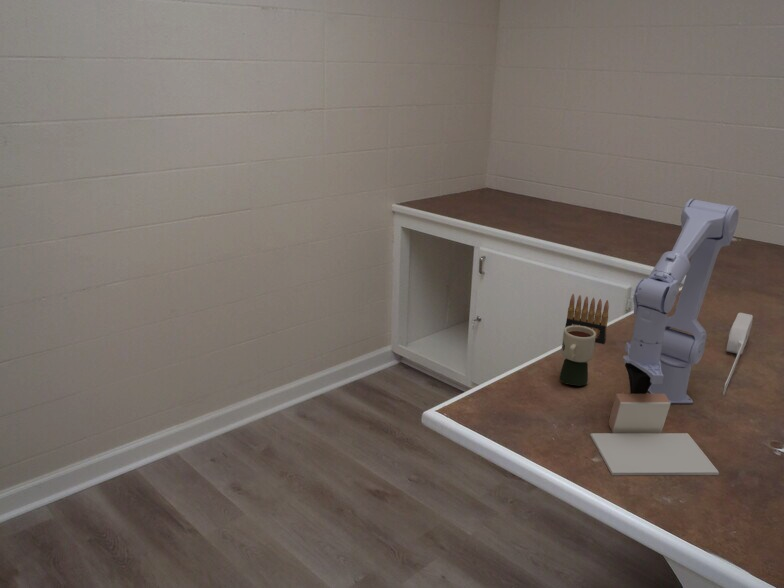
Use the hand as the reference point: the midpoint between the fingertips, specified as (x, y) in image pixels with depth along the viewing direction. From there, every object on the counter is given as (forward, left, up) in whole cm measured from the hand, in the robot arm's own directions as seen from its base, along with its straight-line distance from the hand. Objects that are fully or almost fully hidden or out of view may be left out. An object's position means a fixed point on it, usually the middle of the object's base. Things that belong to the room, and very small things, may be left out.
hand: (636, 398), depth 137 cm
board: (+10, 0, -6) cm, 12 cm away
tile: (+1, 0, -6) cm, 6 cm away
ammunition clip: (-43, +3, -7) cm, 43 cm away
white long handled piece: (-29, +35, -7) cm, 46 cm away
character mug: (-19, -7, -7) cm, 21 cm away
